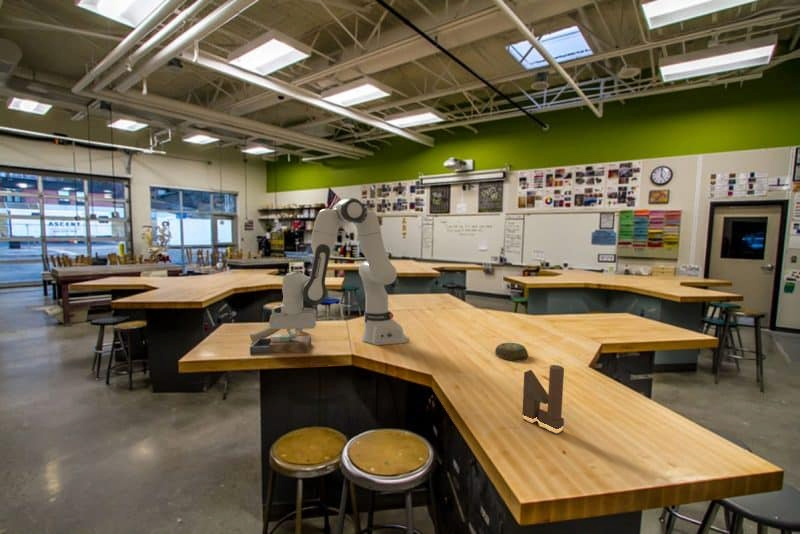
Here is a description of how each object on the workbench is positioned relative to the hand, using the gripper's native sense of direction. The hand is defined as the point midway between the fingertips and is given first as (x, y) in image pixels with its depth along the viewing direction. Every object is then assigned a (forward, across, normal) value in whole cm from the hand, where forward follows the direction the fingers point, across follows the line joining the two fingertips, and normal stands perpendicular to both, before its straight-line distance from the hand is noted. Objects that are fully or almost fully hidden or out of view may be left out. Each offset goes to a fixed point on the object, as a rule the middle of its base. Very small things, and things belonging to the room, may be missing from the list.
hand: (293, 338), depth 169 cm
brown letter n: (+5, -83, +72) cm, 109 cm away
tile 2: (+1, +4, 0) cm, 4 cm away
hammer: (+5, +11, -20) cm, 23 cm away
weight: (+5, -96, +15) cm, 97 cm away
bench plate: (+5, +1, 0) cm, 5 cm away
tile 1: (+1, +8, 0) cm, 8 cm away
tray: (+5, +13, 0) cm, 14 cm away
